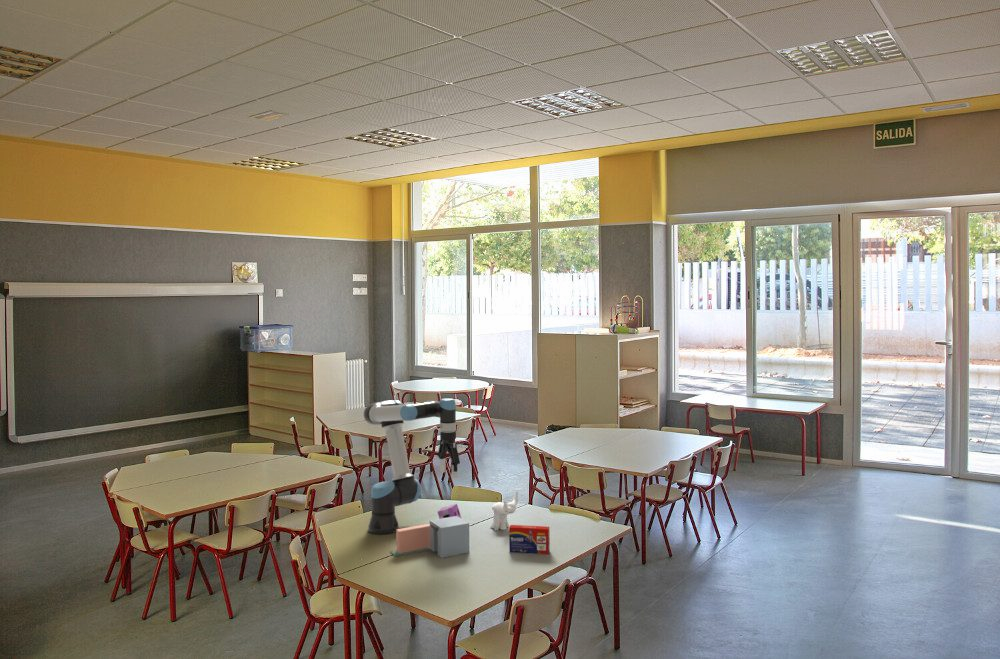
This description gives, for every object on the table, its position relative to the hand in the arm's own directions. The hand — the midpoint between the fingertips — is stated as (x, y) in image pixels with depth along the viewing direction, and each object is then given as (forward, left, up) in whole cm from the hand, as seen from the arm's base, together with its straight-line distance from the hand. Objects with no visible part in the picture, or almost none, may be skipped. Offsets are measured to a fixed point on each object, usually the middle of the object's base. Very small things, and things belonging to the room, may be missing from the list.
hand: (448, 475), depth 350 cm
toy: (-6, +4, -32) cm, 33 cm away
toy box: (+33, +25, -32) cm, 52 cm away
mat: (+4, -22, -32) cm, 39 cm away
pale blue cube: (+13, -6, -32) cm, 35 cm away
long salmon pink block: (+4, -20, -31) cm, 37 cm away
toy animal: (-4, +32, -32) cm, 45 cm away
